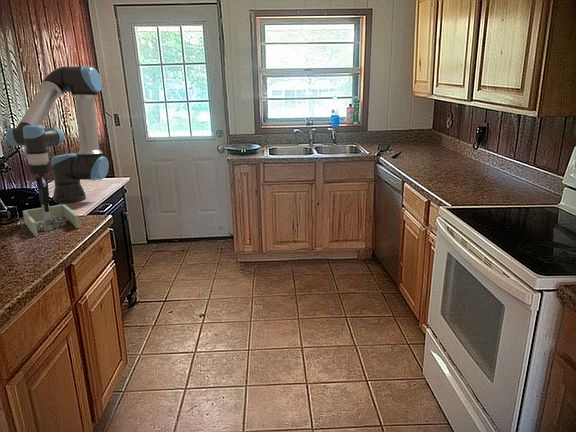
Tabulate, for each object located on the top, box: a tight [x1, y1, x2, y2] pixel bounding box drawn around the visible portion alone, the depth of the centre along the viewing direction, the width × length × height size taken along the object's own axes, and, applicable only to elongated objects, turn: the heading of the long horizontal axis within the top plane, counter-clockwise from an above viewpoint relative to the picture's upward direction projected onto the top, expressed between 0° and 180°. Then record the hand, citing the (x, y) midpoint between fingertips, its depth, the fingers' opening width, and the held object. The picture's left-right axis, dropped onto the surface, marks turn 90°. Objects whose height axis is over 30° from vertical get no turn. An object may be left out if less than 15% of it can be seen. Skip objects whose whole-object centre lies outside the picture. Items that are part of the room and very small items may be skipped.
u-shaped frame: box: [22, 203, 81, 237], centre depth 185 cm, size 23×16×6 cm
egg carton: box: [36, 216, 68, 232], centre depth 183 cm, size 11×8×4 cm
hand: (47, 218), depth 191 cm, fingers closed
